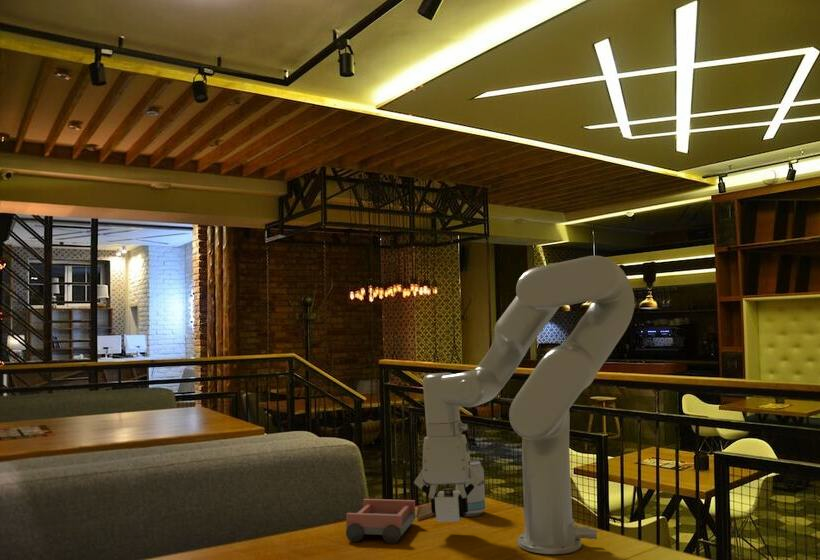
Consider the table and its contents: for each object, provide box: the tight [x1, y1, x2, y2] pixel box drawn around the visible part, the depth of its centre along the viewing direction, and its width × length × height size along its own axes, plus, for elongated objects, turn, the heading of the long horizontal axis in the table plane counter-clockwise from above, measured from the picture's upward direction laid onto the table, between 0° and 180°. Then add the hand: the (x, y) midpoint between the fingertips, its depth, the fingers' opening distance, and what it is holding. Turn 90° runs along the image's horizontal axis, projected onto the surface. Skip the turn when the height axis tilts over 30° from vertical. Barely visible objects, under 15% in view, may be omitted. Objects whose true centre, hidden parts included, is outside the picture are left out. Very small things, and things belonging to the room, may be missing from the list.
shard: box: [415, 502, 434, 521], centre depth 160 cm, size 11×8×2 cm
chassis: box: [345, 498, 417, 545], centre depth 146 cm, size 12×15×6 cm
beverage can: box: [454, 459, 486, 517], centre depth 159 cm, size 7×7×12 cm
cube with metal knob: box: [435, 487, 463, 523], centre depth 143 cm, size 5×6×6 cm
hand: (450, 515), depth 143 cm, fingers closed on cube with metal knob, 5 cm apart
